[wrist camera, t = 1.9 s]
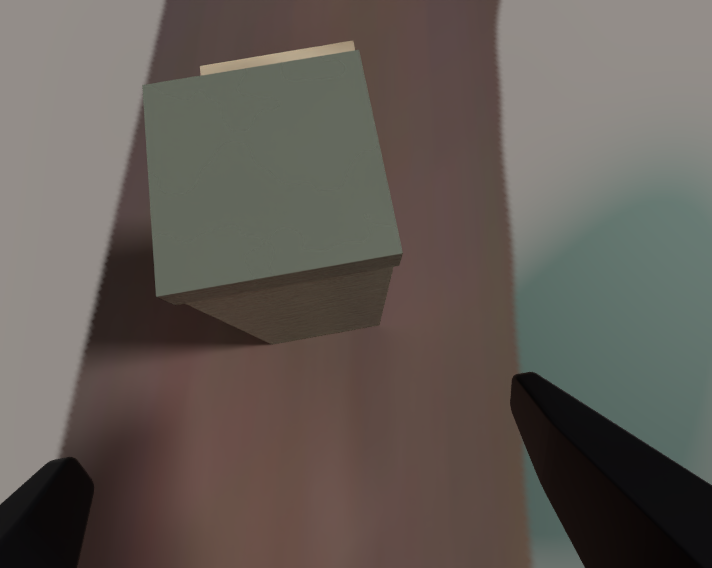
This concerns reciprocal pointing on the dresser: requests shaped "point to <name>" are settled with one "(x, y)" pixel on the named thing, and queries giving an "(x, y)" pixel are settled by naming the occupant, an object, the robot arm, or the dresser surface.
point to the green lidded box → (271, 197)
